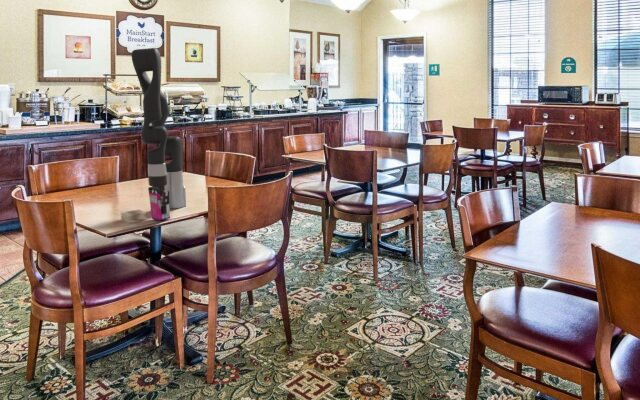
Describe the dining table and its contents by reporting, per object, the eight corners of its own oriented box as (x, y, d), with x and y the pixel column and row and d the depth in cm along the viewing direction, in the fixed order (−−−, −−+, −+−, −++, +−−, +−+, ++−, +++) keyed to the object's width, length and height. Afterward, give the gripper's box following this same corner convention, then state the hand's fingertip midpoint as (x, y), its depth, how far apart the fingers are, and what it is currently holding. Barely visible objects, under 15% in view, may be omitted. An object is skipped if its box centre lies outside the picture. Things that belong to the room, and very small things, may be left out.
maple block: (139, 217, 238) (139, 209, 237) (146, 220, 232) (145, 212, 231) (121, 220, 233) (120, 212, 232) (127, 223, 227) (127, 215, 226)
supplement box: (162, 216, 236) (160, 190, 234) (170, 218, 233) (168, 192, 230) (150, 218, 232) (148, 192, 229) (159, 221, 228) (157, 194, 226)
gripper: (174, 175, 226) (176, 214, 229) (157, 171, 236) (159, 208, 239) (157, 177, 221) (160, 217, 224) (141, 173, 231) (144, 211, 234)
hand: (160, 212), depth 232 cm, fingers closed on supplement box, 6 cm apart
